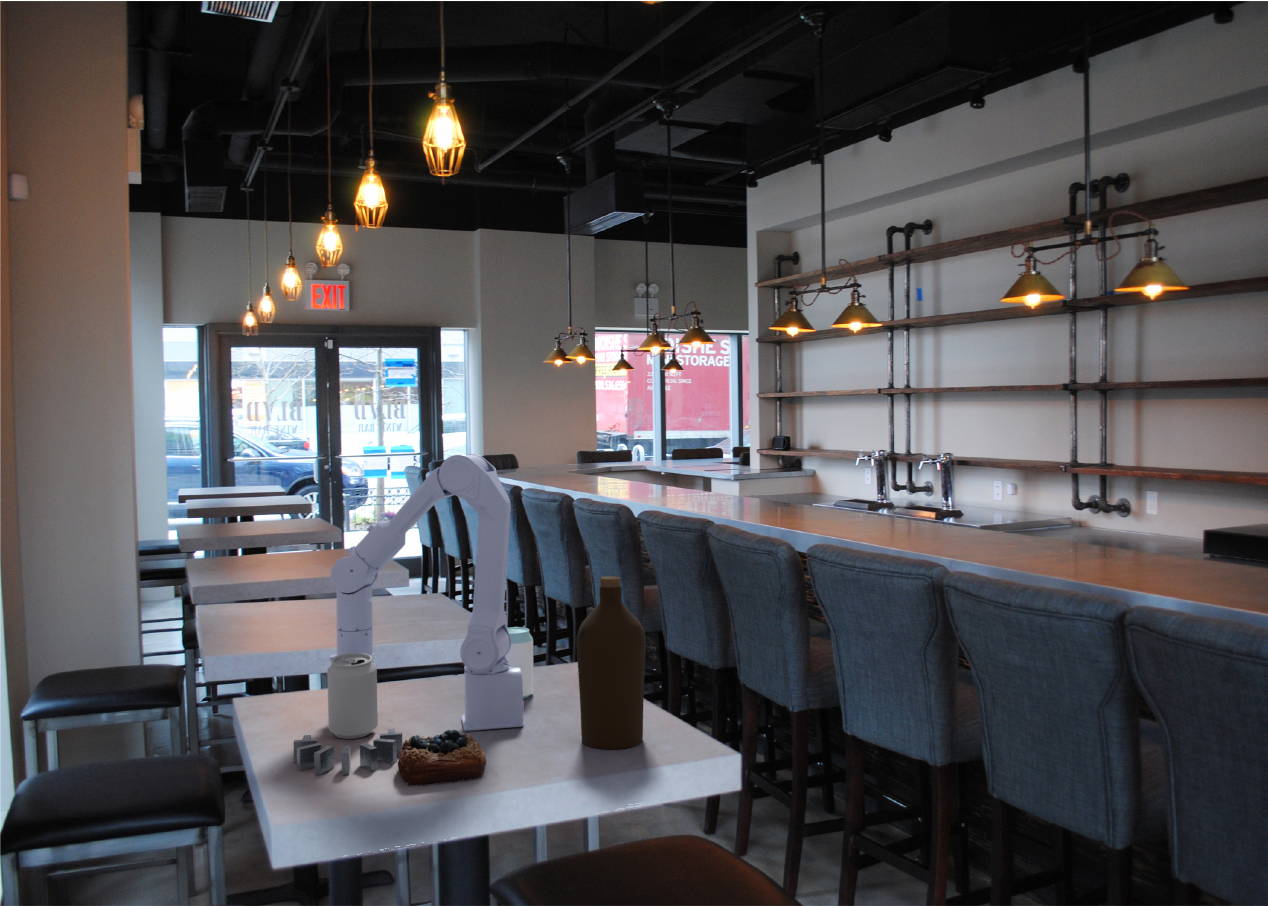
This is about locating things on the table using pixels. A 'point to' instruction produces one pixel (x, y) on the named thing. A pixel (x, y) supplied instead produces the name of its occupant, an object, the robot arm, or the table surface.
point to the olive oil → (611, 672)
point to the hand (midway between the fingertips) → (355, 710)
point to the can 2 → (522, 656)
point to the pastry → (441, 759)
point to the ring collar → (346, 753)
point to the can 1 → (352, 695)
